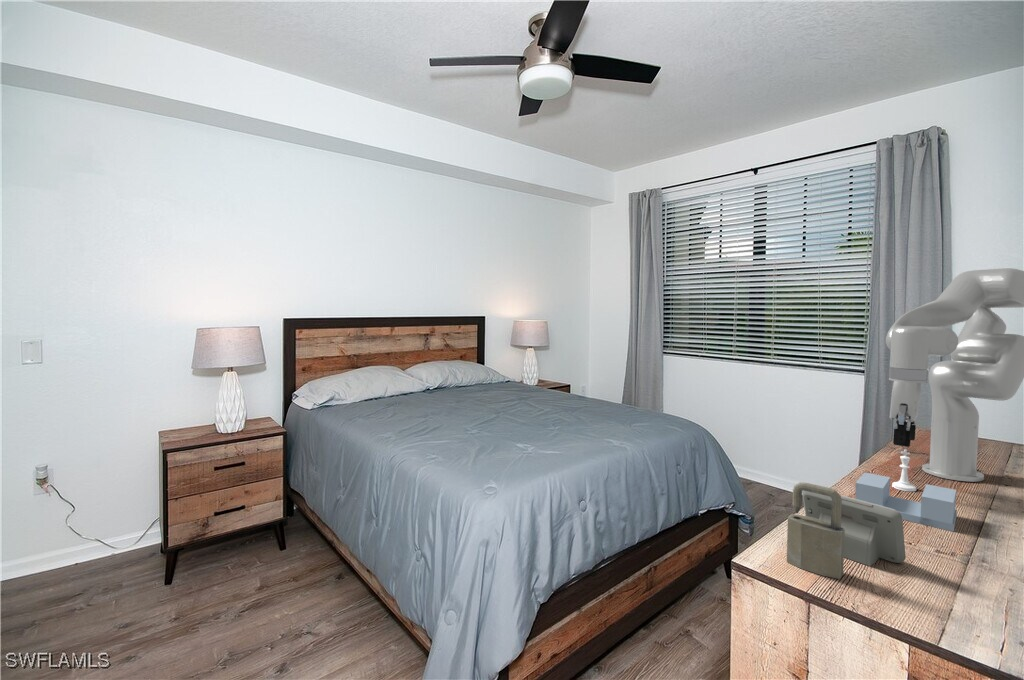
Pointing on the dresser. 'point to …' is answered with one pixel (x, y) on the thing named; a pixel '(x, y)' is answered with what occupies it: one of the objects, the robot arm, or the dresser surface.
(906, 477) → the chess piece
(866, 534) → the digital clock
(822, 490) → the padlock
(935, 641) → the dresser surface
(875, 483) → the slot block
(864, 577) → the dresser surface
